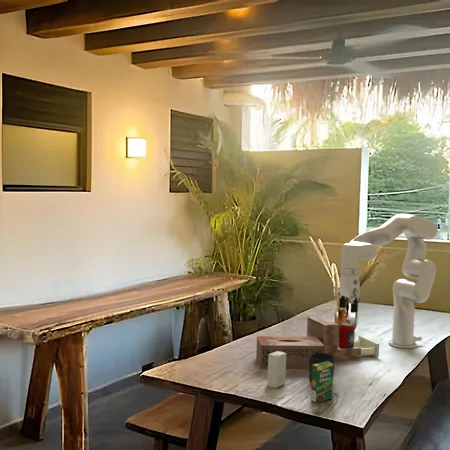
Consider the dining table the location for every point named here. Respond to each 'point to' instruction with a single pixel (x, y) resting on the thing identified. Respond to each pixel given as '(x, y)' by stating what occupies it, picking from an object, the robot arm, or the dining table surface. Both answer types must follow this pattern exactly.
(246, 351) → the dining table surface
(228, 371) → the dining table surface
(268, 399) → the dining table surface
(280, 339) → the tissue box cover
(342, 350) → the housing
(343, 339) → the beverage can
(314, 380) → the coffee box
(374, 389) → the dining table surface
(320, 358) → the pen holder
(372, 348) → the tray
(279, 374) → the skincare box
